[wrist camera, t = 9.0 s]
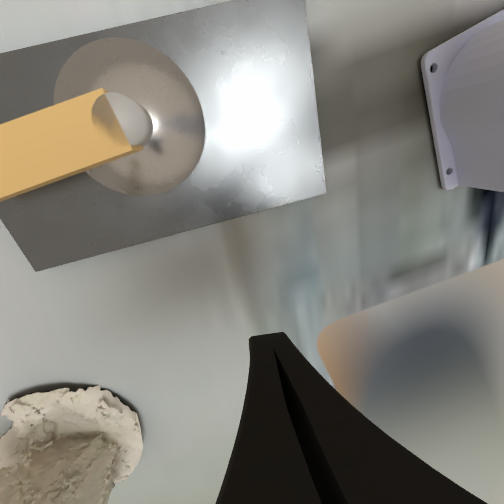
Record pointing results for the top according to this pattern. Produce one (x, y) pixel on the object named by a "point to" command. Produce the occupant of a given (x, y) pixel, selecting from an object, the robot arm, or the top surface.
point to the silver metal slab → (173, 126)
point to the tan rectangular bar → (69, 140)
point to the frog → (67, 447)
